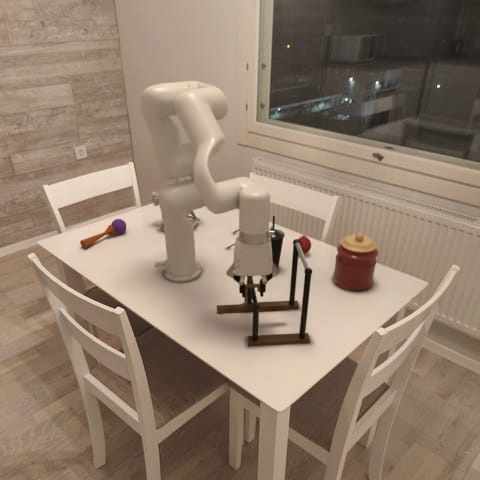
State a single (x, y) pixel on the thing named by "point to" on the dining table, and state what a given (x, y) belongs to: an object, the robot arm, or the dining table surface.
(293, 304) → the rack
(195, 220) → the flower
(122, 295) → the dining table surface
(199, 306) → the dining table surface
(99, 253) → the dining table surface
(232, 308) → the hanger
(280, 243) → the drinking cup
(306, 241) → the red oval fruit
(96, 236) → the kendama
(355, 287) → the kitchen canister
